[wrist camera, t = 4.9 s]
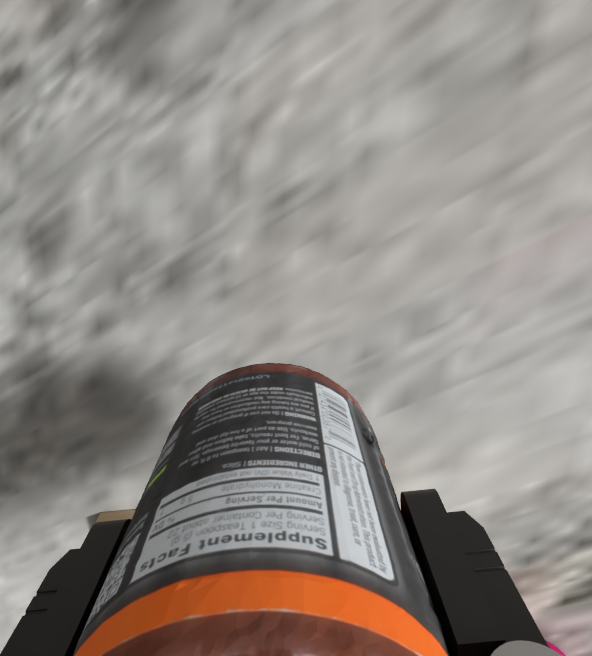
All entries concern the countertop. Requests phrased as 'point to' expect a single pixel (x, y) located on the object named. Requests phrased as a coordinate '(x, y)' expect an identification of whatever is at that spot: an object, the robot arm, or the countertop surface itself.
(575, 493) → the countertop surface
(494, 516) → the countertop surface
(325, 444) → the supplement bottle
